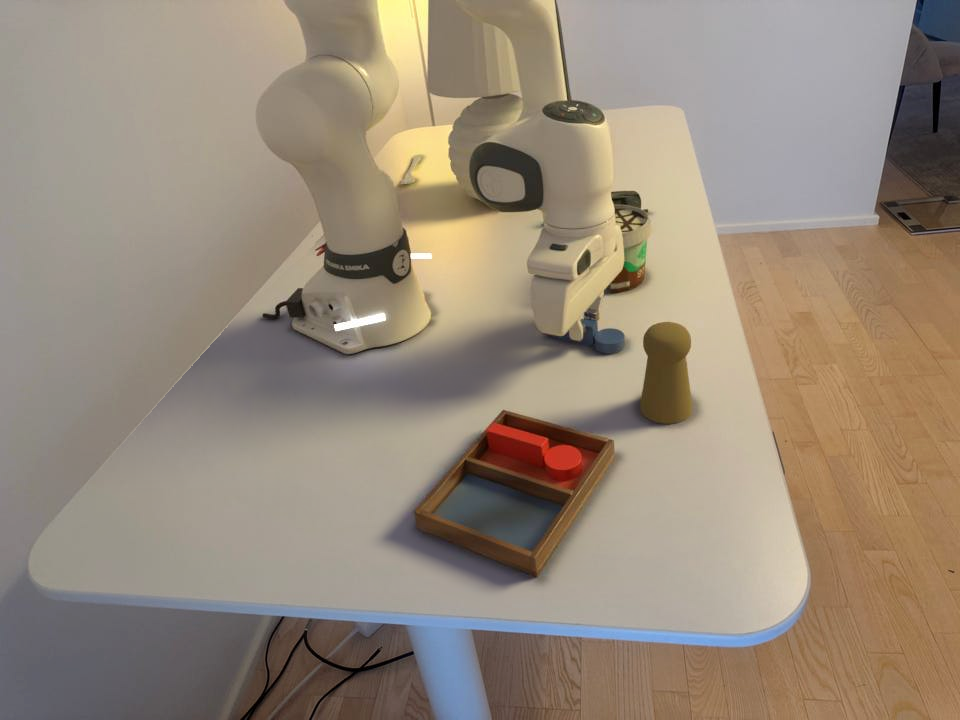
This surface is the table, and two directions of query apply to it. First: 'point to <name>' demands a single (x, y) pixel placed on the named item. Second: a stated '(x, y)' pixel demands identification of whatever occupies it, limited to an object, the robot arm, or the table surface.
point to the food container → (632, 247)
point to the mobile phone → (627, 199)
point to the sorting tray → (513, 497)
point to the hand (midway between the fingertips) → (585, 329)
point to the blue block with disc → (599, 338)
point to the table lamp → (471, 79)
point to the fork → (409, 178)
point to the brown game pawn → (666, 374)
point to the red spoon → (535, 451)
